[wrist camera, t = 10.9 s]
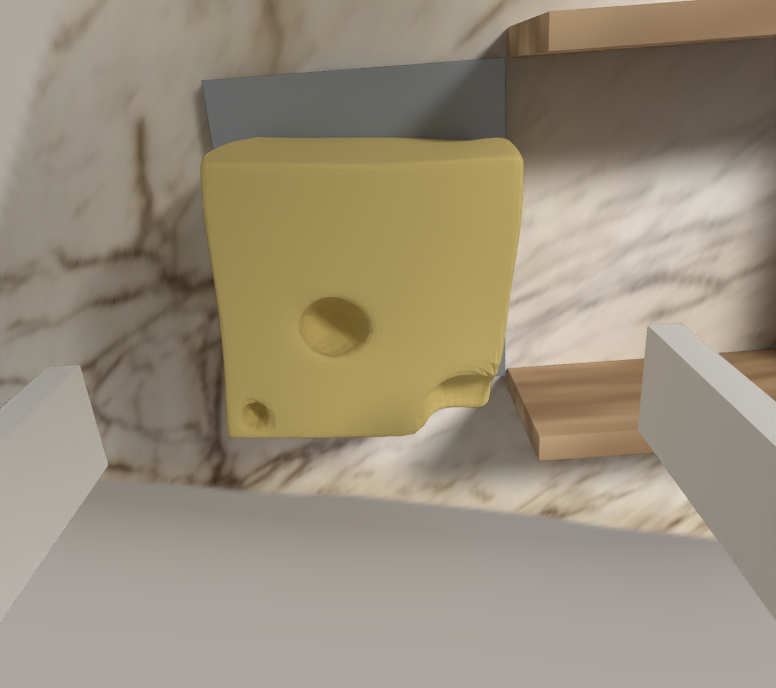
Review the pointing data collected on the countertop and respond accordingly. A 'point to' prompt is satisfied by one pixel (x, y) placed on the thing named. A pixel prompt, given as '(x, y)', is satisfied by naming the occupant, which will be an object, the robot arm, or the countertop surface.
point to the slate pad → (363, 105)
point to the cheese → (359, 279)
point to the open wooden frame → (624, 377)
